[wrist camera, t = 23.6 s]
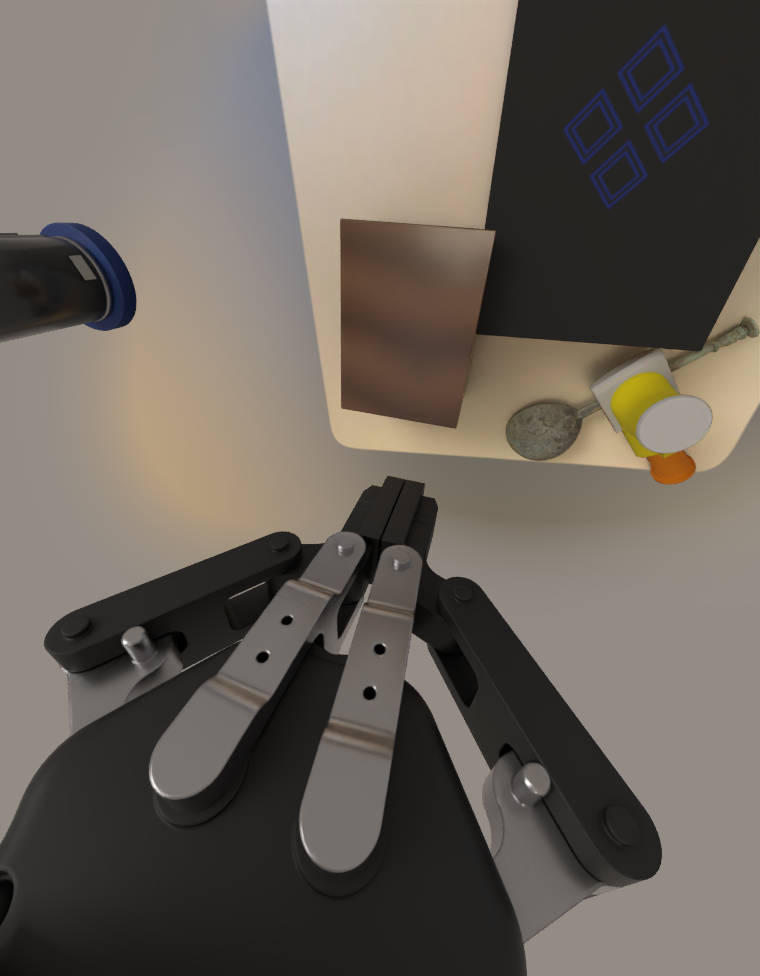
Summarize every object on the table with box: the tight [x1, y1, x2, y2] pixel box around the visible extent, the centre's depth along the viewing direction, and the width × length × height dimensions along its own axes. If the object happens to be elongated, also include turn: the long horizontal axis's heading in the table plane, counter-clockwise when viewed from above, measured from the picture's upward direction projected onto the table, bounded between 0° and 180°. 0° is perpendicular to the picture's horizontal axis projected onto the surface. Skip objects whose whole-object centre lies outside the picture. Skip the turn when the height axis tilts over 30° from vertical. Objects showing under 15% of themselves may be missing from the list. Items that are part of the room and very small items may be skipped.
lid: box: [340, 219, 497, 428], centre depth 31 cm, size 15×12×1 cm
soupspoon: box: [506, 318, 759, 461], centre depth 36 cm, size 22×3×7 cm
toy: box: [590, 348, 713, 484], centre depth 32 cm, size 5×15×10 cm, turn 42°
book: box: [476, 0, 760, 351], centre depth 24 cm, size 17×25×7 cm
